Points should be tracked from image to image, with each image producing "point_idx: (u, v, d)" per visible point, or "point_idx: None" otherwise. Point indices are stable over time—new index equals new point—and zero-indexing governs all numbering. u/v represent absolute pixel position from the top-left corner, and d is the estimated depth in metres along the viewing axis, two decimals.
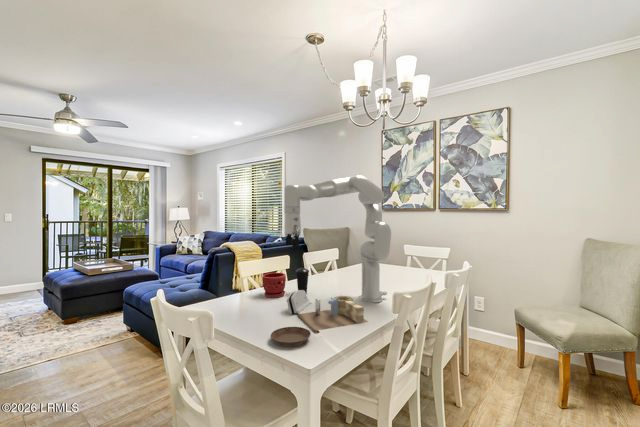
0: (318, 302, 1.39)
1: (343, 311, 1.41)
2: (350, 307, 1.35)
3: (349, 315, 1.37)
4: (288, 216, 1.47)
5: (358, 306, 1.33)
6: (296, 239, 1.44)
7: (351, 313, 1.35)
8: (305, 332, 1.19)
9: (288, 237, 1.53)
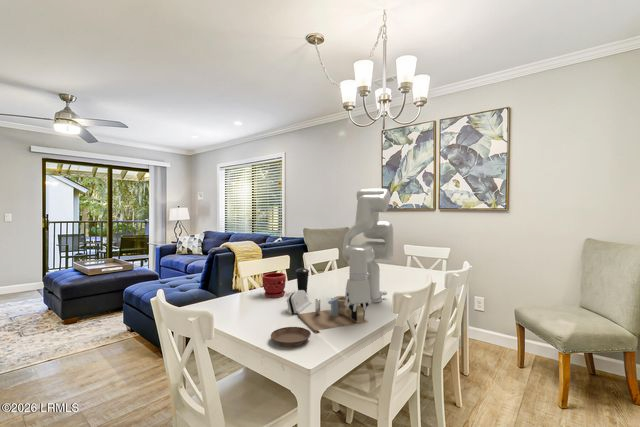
0: (318, 302, 1.39)
1: (343, 311, 1.41)
2: None
3: (349, 315, 1.37)
4: (364, 283, 1.31)
5: (358, 306, 1.33)
6: None
7: None
8: (305, 332, 1.19)
9: None
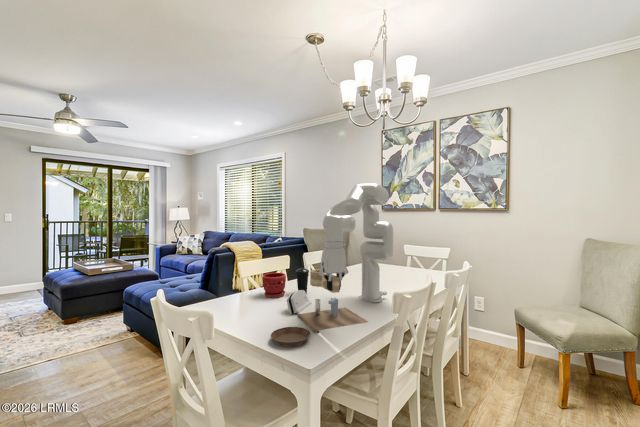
0: (318, 302, 1.39)
1: (320, 283, 1.36)
2: None
3: (325, 286, 1.32)
4: (339, 252, 1.26)
5: (334, 276, 1.28)
6: None
7: None
8: (305, 332, 1.19)
9: None
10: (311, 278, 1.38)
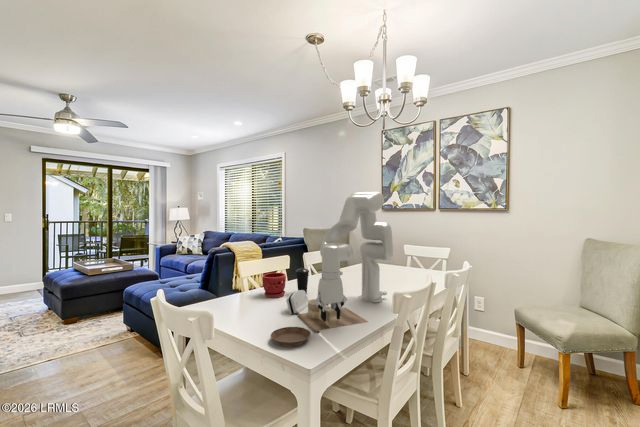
0: (318, 302, 1.39)
1: (317, 315, 1.35)
2: None
3: None
4: (336, 282, 1.26)
5: (331, 310, 1.28)
6: None
7: None
8: (305, 332, 1.19)
9: None
10: (309, 309, 1.38)
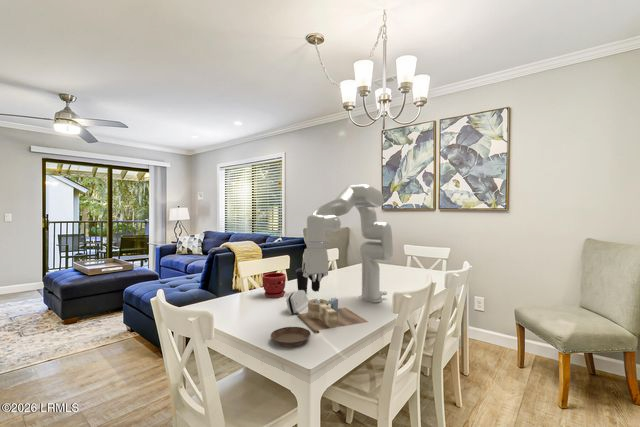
0: (318, 302, 1.39)
1: (317, 315, 1.35)
2: (324, 311, 1.30)
3: (323, 319, 1.31)
4: (321, 252, 1.24)
5: (331, 310, 1.28)
6: None
7: (324, 317, 1.30)
8: (305, 332, 1.19)
9: None
10: (309, 309, 1.38)
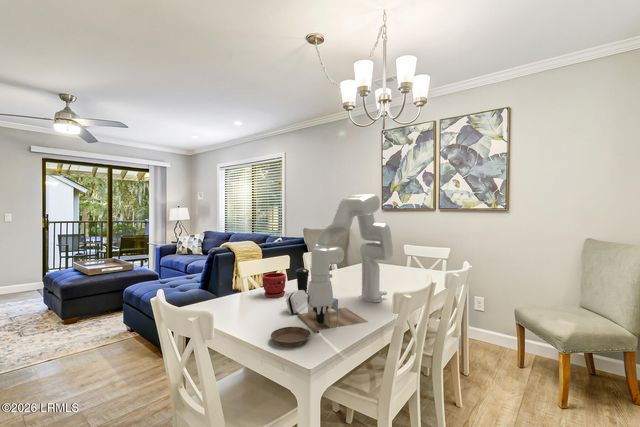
0: None
1: None
2: None
3: None
4: (326, 285, 1.25)
5: (331, 310, 1.28)
6: None
7: (324, 317, 1.30)
8: (305, 332, 1.19)
9: None
10: None
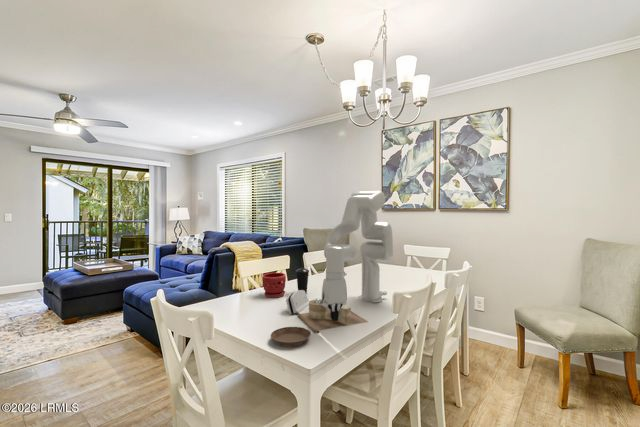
0: (318, 302, 1.39)
1: (323, 315, 1.35)
2: None
3: None
4: (340, 283, 1.27)
5: (344, 307, 1.31)
6: None
7: None
8: (305, 332, 1.19)
9: None
10: (313, 311, 1.35)
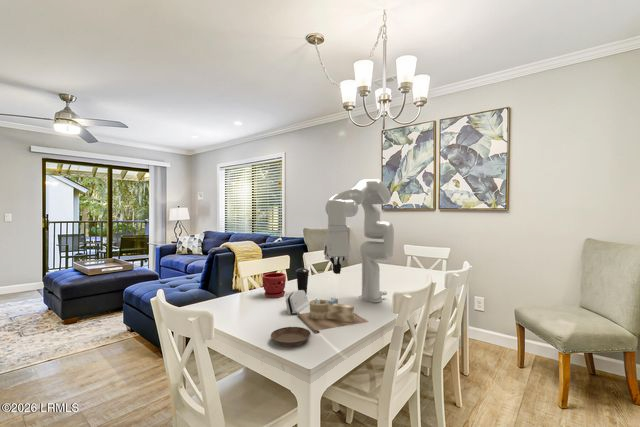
0: (318, 302, 1.39)
1: (326, 315, 1.35)
2: (339, 309, 1.33)
3: (336, 317, 1.34)
4: (342, 236, 1.27)
5: (348, 306, 1.33)
6: None
7: (339, 314, 1.33)
8: (305, 332, 1.19)
9: None
10: (315, 311, 1.35)
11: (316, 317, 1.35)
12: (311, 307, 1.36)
